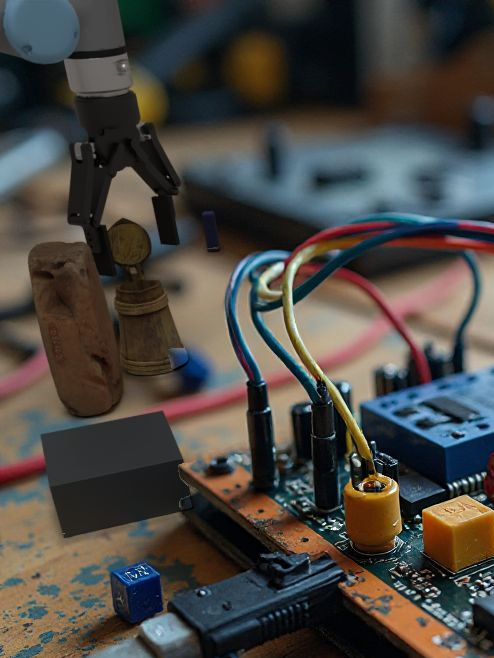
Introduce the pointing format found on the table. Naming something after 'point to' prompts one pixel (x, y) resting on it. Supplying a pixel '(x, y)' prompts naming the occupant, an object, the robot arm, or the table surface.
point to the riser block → (113, 472)
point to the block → (75, 327)
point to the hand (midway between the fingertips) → (140, 259)
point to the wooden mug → (141, 305)
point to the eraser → (210, 230)
